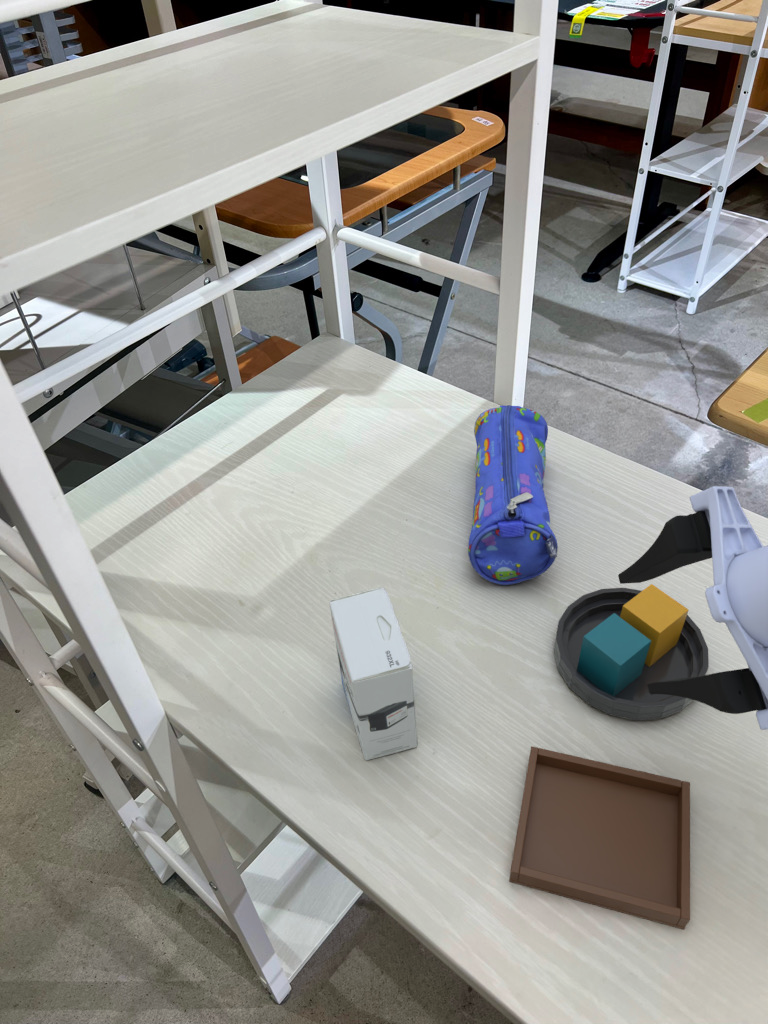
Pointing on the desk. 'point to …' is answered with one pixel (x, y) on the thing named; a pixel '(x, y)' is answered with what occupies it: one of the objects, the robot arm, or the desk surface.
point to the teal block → (613, 655)
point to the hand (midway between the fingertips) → (643, 632)
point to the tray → (605, 836)
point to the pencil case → (510, 497)
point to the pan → (675, 664)
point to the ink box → (375, 672)
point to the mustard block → (655, 620)
